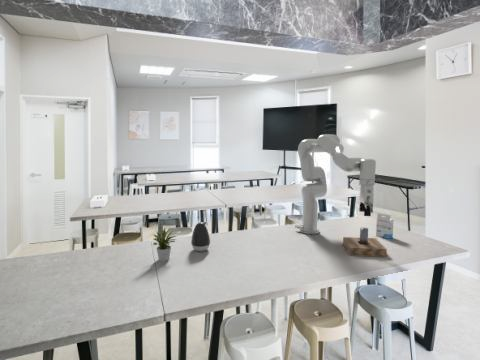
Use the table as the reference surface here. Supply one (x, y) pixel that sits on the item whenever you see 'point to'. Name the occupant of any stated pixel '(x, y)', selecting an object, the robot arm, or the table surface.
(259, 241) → the table surface
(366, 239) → the peg
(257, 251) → the table surface
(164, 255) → the house plant
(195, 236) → the dark grey egg shape
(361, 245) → the socket
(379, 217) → the ink box
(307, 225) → the robot arm
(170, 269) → the table surface
